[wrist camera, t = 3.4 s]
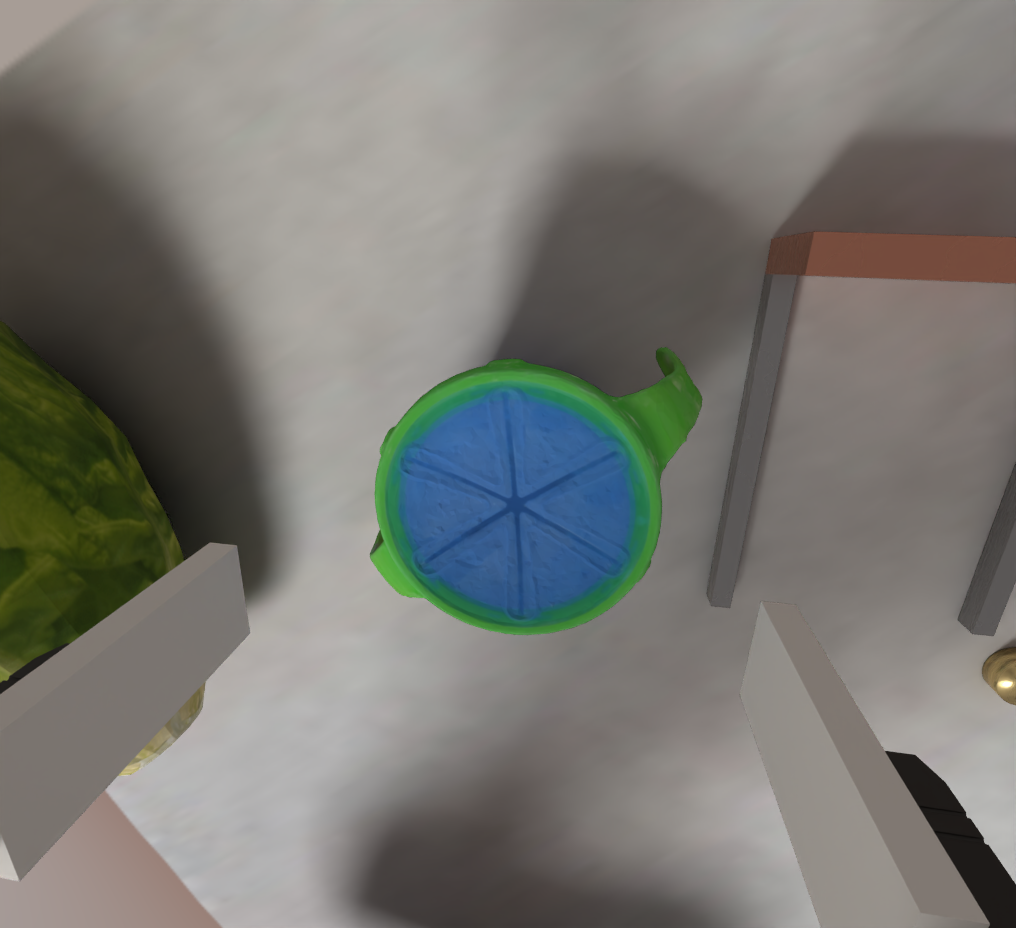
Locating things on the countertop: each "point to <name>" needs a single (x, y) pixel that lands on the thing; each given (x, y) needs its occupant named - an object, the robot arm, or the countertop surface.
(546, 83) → the countertop surface
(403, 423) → the snack cup
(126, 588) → the lettuce
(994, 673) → the brass key
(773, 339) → the bracket
